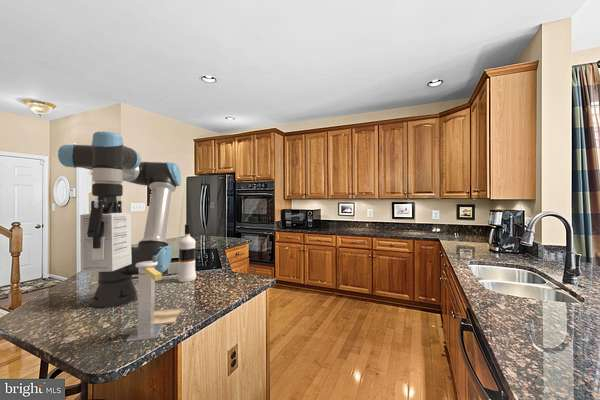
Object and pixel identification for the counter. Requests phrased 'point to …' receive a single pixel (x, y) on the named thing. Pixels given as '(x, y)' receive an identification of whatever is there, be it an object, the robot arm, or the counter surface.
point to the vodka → (187, 257)
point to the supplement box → (107, 243)
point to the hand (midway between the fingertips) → (107, 255)
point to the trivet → (165, 316)
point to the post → (145, 311)
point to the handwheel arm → (150, 268)
